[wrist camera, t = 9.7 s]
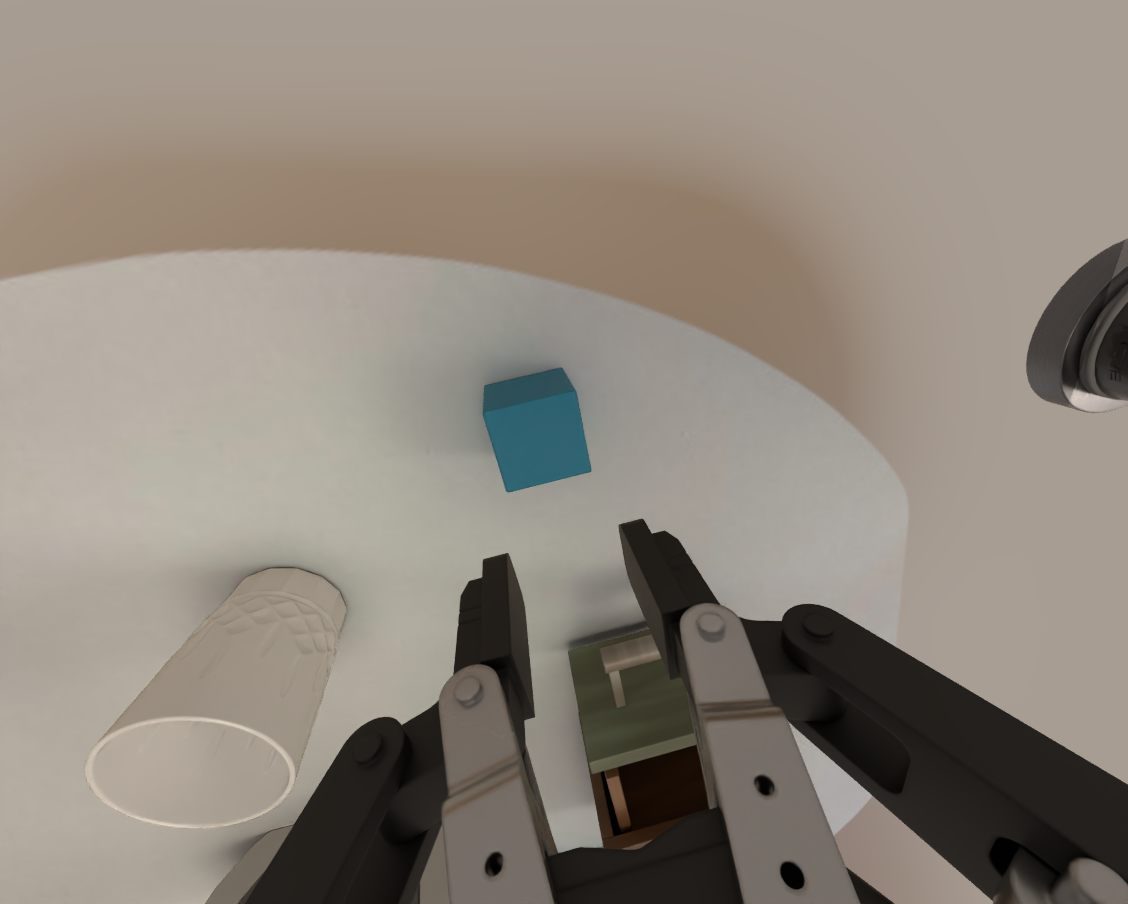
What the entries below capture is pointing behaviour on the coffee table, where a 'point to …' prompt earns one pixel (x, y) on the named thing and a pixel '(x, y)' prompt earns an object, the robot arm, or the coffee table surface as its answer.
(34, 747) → the coffee table surface
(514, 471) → the blue block
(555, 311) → the coffee table surface
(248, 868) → the alarm clock
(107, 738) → the white cup
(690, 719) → the drawer
